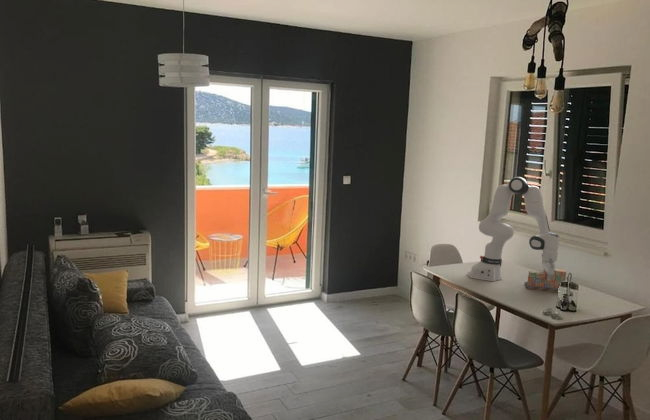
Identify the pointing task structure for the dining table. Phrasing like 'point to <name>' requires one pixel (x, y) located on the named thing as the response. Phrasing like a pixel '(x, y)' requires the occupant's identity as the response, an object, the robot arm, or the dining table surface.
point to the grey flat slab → (540, 288)
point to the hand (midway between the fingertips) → (546, 278)
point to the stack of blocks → (546, 278)
